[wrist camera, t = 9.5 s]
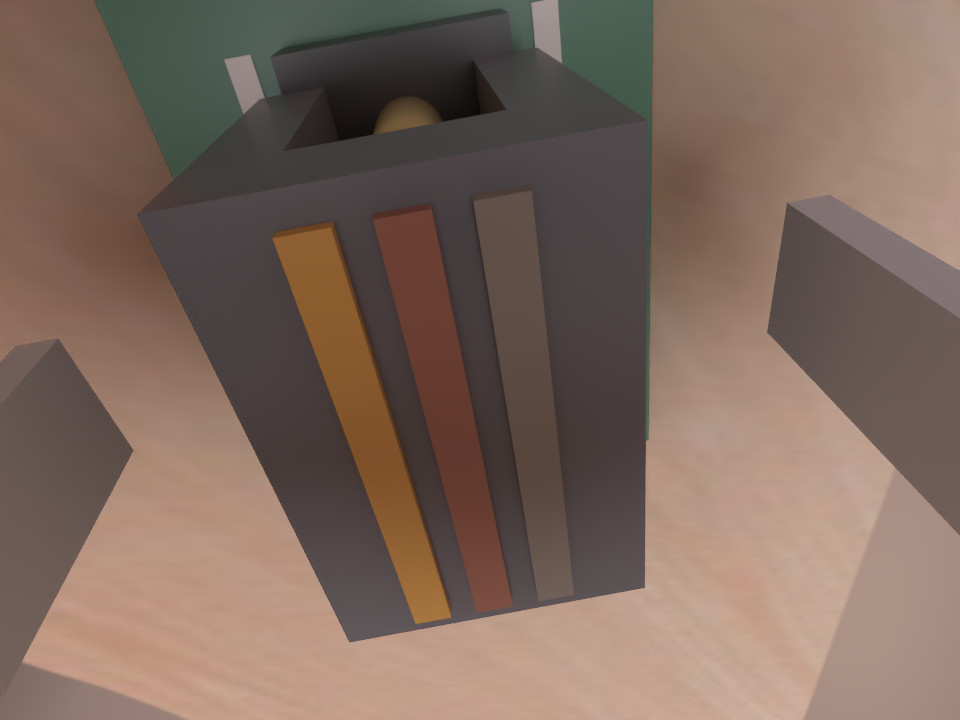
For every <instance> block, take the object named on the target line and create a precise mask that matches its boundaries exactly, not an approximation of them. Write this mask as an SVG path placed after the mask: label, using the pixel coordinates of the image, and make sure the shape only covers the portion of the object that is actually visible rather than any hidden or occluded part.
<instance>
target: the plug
mask: <svg viewBox="0 0 960 720" xmlns="http://www.w3.org/2000/svg"><path fill="white" fill-rule="evenodd" d="M473 64H474V71H475V78H476V85H477V92H478V99H479V106H480V113H481V115H477V116H472V117H466V118H461V119H455V120H450V121H445V122H439V123H434V124H428V125H423V126H418V127H412V128H407V129H401V130H396V131H391V132H385V133H380V134H374V135H369V136H363V137H358V138H353V139H347V140H342V141H339V137H338V134H337V130H336V126H335V123H334V119H333V115H332V112H331V108H330V105H329V101H328V97H327V94H326V90H325V87H322V88H316V89H311V90H305V91H300V92H294V93H289V94H284V95H278V96H273V97H267V98H262V99H259V100H258V101H257V102H256V103H255V104H254V105H253V106H252V107H251V108H250V109H249V110H247V111H246V112H245V113H244V114H243V115H242V116H241V117H240V118H239V119H238V120H237V121H236V122H235V123H234V124H233V125H232V126H230V127H229V128H228V129H227V130H226V131H225V132H224V133H223V134H222V135H221V136H220V137H219V138H218V139H217V140H216V141H215V142H213V143H212V144H211V145H210V146H209V147H208V148H207V149H206V150H205V151H204V152H203V153H202V154H201V155H200V156H199V157H198V158H197V159H195V160H194V161H193V162H192V163H191V164H190V165H189V166H188V167H187V168H186V169H185V170H184V171H183V172H182V173H181V174H180V175H178V176H177V177H176V178H175V179H174V180H173V181H172V182H171V183H170V184H169V185H168V186H167V187H166V188H165V189H164V190H163V191H161V192H160V193H159V194H158V195H157V196H156V197H155V198H154V199H153V200H152V201H151V202H150V203H149V204H148V205H147V206H146V207H145V208H143V209H142V210H141V211H140V212H139V213H138V214H137V215H138V217H139V219H140V221H141V223H142V225H143V227H144V229H145V231H146V233H147V235H148V237H149V239H150V241H151V243H152V245H153V247H154V249H155V251H156V253H157V255H158V257H159V259H160V261H161V263H162V265H163V267H164V269H165V271H166V273H167V275H168V277H169V280H170V282H171V284H172V286H173V288H174V290H175V292H176V294H177V296H178V298H179V300H180V302H181V304H182V306H183V308H184V310H185V312H186V314H187V316H188V318H189V320H190V322H191V324H192V326H193V328H194V330H195V332H196V334H197V336H198V338H199V340H200V342H201V344H202V346H203V348H204V350H205V352H206V354H207V356H208V358H209V360H210V362H211V364H212V366H213V368H214V370H215V372H216V374H217V376H218V378H219V380H220V382H221V384H222V386H223V388H224V390H225V392H226V394H227V396H228V398H229V400H230V402H231V404H232V406H233V408H234V410H235V412H236V415H237V417H238V419H239V421H240V423H241V425H242V427H243V429H244V431H245V433H246V435H247V437H248V439H249V441H250V443H251V445H252V447H253V449H254V451H255V453H256V455H257V457H258V459H259V461H260V463H261V465H262V467H263V469H264V471H265V473H266V475H267V477H268V479H269V481H270V483H271V485H272V487H273V489H274V491H275V493H276V495H277V497H278V499H279V501H280V503H281V505H282V507H283V509H284V511H285V513H286V515H287V517H288V519H289V521H290V523H291V525H292V527H293V529H294V531H295V533H296V535H297V537H298V539H299V541H300V543H301V545H302V548H303V550H304V552H305V554H306V556H307V558H308V560H309V562H310V564H311V566H312V568H313V570H314V572H315V574H316V576H317V578H318V580H319V582H320V584H321V586H322V588H323V590H324V592H325V594H326V596H327V598H328V600H329V602H330V604H331V606H332V608H333V610H334V612H335V614H336V616H337V618H338V620H339V622H340V624H341V626H342V628H343V630H344V632H345V634H346V636H347V638H348V640H349V642H354V641H359V640H365V639H370V638H376V637H381V636H386V635H392V634H397V633H403V632H408V631H413V630H419V629H424V628H430V627H435V626H440V625H446V624H451V623H457V622H462V621H467V620H473V619H478V618H484V617H489V616H494V615H500V614H505V613H511V612H516V611H521V610H527V609H532V608H538V607H543V606H548V605H554V604H559V603H565V602H570V601H575V600H581V599H586V598H592V597H597V596H603V595H608V594H613V593H619V592H624V591H630V590H635V589H640V588H645V464H646V321H647V177H648V120H647V119H646V118H644V117H642V116H641V115H639V114H638V113H636V112H635V111H633V110H632V109H630V108H629V107H627V106H626V105H624V104H623V103H621V102H620V101H618V100H617V99H615V98H614V97H612V96H611V95H609V94H607V93H606V92H604V91H603V90H601V89H600V88H598V87H597V86H595V85H594V84H592V83H591V82H589V81H588V80H586V79H585V78H583V77H582V76H580V75H579V74H577V73H576V72H574V71H572V70H571V69H569V68H568V67H566V66H565V65H563V64H562V63H560V62H559V61H557V60H556V59H554V58H553V57H551V56H550V55H548V54H547V53H545V52H544V51H542V50H541V49H539V48H533V49H527V50H522V51H516V52H511V53H506V54H500V55H495V56H489V57H484V58H479V59H473Z"/></svg>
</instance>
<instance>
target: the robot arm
mask: <svg viewBox="0 0 960 720" xmlns="http://www.w3.org/2000/svg"><path fill="white" fill-rule="evenodd" d="M767 332H768V333H769V334H770V336H771V337H772V338H773V339H774V340H775V341H776V342H777V343H778V344H779V345H780V346H781V347H782V348H783V349H784V350H785V351H786V352H787V353H788V355H789V356H790V357H791V358H792V359H793V360H794V361H795V362H796V363H797V364H798V365H799V366H800V367H801V368H802V369H803V370H804V371H805V372H806V374H807V375H808V376H809V377H810V378H811V379H812V380H813V381H814V382H815V383H816V384H817V385H818V386H819V387H820V388H821V389H822V390H823V392H824V393H825V394H826V395H827V396H828V397H829V398H830V399H831V400H832V401H833V402H834V403H835V404H836V405H837V406H838V407H839V408H840V409H841V411H842V412H843V413H844V414H845V415H846V416H847V417H848V418H849V419H850V420H851V421H852V422H853V423H854V424H855V425H856V426H857V427H858V428H859V430H860V431H861V432H862V433H863V434H864V435H865V436H866V437H867V438H868V439H869V440H870V441H871V442H872V443H873V444H874V445H875V446H876V447H877V449H878V450H879V451H880V452H881V453H882V454H883V455H884V456H885V457H886V458H887V459H888V460H889V461H890V462H891V463H892V464H893V465H894V466H895V468H896V469H897V470H898V471H899V472H900V473H901V474H902V475H903V476H904V477H905V478H906V479H907V480H908V481H909V482H910V483H911V484H912V485H913V487H914V488H915V489H916V490H917V491H918V492H919V493H920V494H921V495H922V496H923V497H924V498H925V499H926V500H927V501H928V502H929V503H930V504H931V505H932V507H933V508H934V509H935V510H936V511H937V512H938V513H939V514H940V515H941V516H942V517H943V518H944V519H945V520H946V521H947V522H948V523H949V524H950V526H951V527H952V528H953V529H954V530H955V531H956V532H957V533H958V534H959V535H960V271H959V270H957V269H956V268H954V267H952V266H950V265H949V264H947V263H945V262H944V261H942V260H940V259H938V258H937V257H935V256H933V255H932V254H930V253H928V252H926V251H925V250H923V249H921V248H920V247H918V246H916V245H914V244H913V243H911V242H909V241H907V240H906V239H904V238H902V237H901V236H899V235H897V234H895V233H894V232H892V231H890V230H889V229H887V228H885V227H883V226H882V225H880V224H878V223H877V222H875V221H873V220H871V219H870V218H868V217H866V216H865V215H863V214H861V213H859V212H858V211H856V210H854V209H853V208H851V207H849V206H847V205H846V204H844V203H842V202H841V201H839V200H837V199H835V198H834V197H832V196H830V195H828V196H823V197H817V198H812V199H807V200H801V201H796V202H790V203H787V209H786V215H785V221H784V228H783V234H782V241H781V247H780V254H779V260H778V267H777V273H776V280H775V286H774V292H773V299H772V305H771V312H770V318H769V325H768V331H767ZM132 452H133V449H132V448H131V446H130V445H129V443H128V442H127V440H126V439H125V437H124V436H123V434H122V433H121V431H120V430H119V428H118V427H117V425H116V424H115V422H114V421H113V419H112V418H111V416H110V415H109V413H108V412H107V410H106V409H105V407H104V406H103V404H102V403H101V401H100V400H99V399H98V397H97V396H96V394H95V393H94V391H93V390H92V388H91V387H90V385H89V384H88V382H87V381H86V379H85V378H84V376H83V375H82V373H81V372H80V370H79V369H78V367H77V366H76V364H75V363H74V361H73V360H72V358H71V357H70V355H69V354H68V352H67V351H66V349H65V348H64V346H63V345H62V343H61V342H60V341H59V339H53V340H48V341H43V342H37V343H32V344H27V345H21V346H16V347H15V348H14V349H13V350H12V351H11V352H10V353H9V354H8V355H7V356H6V357H5V358H4V359H3V360H2V361H1V362H0V701H1V700H2V698H3V696H4V694H5V692H6V690H7V688H8V686H9V684H10V683H11V680H12V678H13V677H14V675H15V673H16V671H17V669H18V667H19V666H20V664H21V662H22V660H23V658H24V656H25V654H26V652H27V650H28V649H29V647H30V645H31V643H32V641H33V639H34V637H35V635H36V633H37V632H38V630H39V628H40V626H41V624H42V622H43V620H44V618H45V616H46V615H47V613H48V611H49V609H50V607H51V605H52V603H53V601H54V599H55V598H56V596H57V594H58V592H59V590H60V588H61V586H62V584H63V582H64V581H65V579H66V577H67V575H68V573H69V571H70V569H71V567H72V565H73V564H74V562H75V560H76V558H77V556H78V554H79V552H80V550H81V548H82V547H83V545H84V543H85V541H86V539H87V537H88V535H89V533H90V531H91V530H92V528H93V526H94V524H95V522H96V520H97V518H98V516H99V514H100V513H101V511H102V509H103V507H104V505H105V503H106V501H107V499H108V497H109V496H110V494H111V492H112V490H113V488H114V486H115V484H116V482H117V480H118V479H119V477H120V475H121V473H122V471H123V469H124V467H125V465H126V463H127V462H128V460H129V458H130V456H131V454H132Z"/></svg>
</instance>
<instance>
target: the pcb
mask: <svg viewBox="0 0 960 720" xmlns="http://www.w3.org/2000/svg"><path fill="white" fill-rule="evenodd" d="M94 1H95V3H96V5H97V7H98V10H99V12H100V14H101V16H102V19H103V21H104V23H105V25H106V28H107V30H108V32H109V34H110V37H111V39H112V41H113V43H114V46H115V48H116V50H117V52H118V55H119V57H120V59H121V61H122V64H123V66H124V68H125V70H126V73H127V75H128V77H129V79H130V82H131V84H132V86H133V88H134V91H135V93H136V95H137V97H138V100H139V102H140V104H141V106H142V109H143V111H144V113H145V115H146V118H147V120H148V122H149V124H150V127H151V129H152V131H153V133H154V136H155V138H156V140H157V142H158V145H159V147H160V149H161V151H162V154H163V156H164V158H165V160H166V163H167V165H168V167H169V169H170V172H171V174H172V176H173V178H174V179H175V178H176V177H177V176H178V175H180V174H181V173H182V172H183V171H184V170H185V169H186V168H187V167H188V166H189V165H190V164H191V163H192V162H193V161H194V160H195V159H197V158H198V157H199V156H200V155H201V154H202V153H203V152H204V151H205V150H206V149H207V148H208V147H209V146H210V145H211V144H212V143H213V142H215V141H216V140H217V139H218V138H219V137H220V136H221V135H222V134H223V133H224V132H225V131H226V130H227V129H228V128H229V127H230V126H232V125H233V124H234V123H235V122H236V121H237V120H238V119H239V118H240V117H241V116H242V115H243V114H244V113H245V112H246V111H247V110H249V109H250V108H251V107H252V106H253V105H254V104H255V103H256V102H257V101H258V100H259V99H262V98H267V97H273V96H278V95H284V94H289V93H294V92H300V91H305V90H311V89H316V88H322V87H325V90H326V94H327V97H328V101H329V105H330V108H331V112H332V115H333V119H334V123H335V126H336V130H337V134H338V137H339V141H342V140H347V139H353V138H358V137H363V136H369V135H374V134H380V133H385V132H391V131H396V130H401V129H407V128H412V127H418V126H423V125H428V124H434V123H439V122H445V121H450V120H455V119H461V118H466V117H472V116H477V115H481V113H480V106H479V99H478V92H477V85H476V78H475V71H474V64H473V59H479V58H484V57H489V56H495V55H500V54H506V53H511V52H516V51H522V50H527V49H533V48H539V49H541V50H542V51H544V52H545V53H547V54H548V55H550V56H551V57H553V58H554V59H556V60H557V61H559V62H560V63H562V64H563V65H565V66H566V67H568V68H569V69H571V70H572V71H574V72H576V73H577V74H579V75H580V76H582V77H583V78H585V79H586V80H588V81H589V82H591V83H592V84H594V85H595V86H597V87H598V88H600V89H601V90H603V91H604V92H606V93H607V94H609V95H611V96H612V97H614V98H615V99H617V100H618V101H620V102H621V103H623V104H624V105H626V106H627V107H629V108H630V109H632V110H633V111H635V112H636V113H638V114H639V115H641V116H642V117H644V118H646V119H647V120H648V177H647V321H646V440H648V430H649V336H650V242H651V148H652V53H653V0H94Z"/></svg>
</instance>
